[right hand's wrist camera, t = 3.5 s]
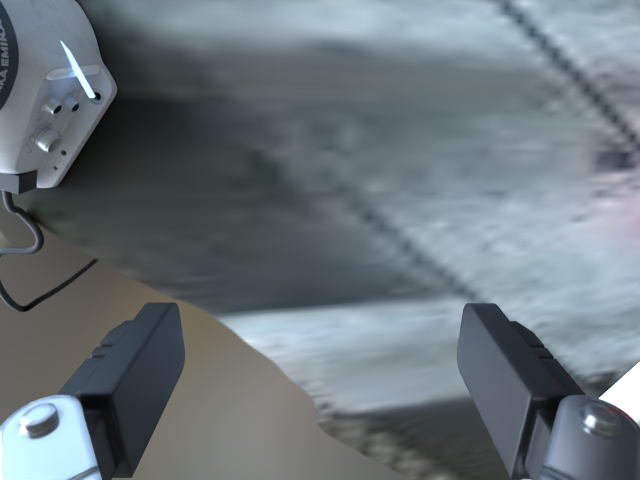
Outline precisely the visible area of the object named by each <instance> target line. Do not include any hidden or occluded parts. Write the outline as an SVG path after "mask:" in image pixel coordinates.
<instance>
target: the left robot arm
mask: <svg viewBox="0 0 640 480" xmlns="http://www.w3.org/2000/svg"><path fill="white" fill-rule="evenodd" d="M97 93H99V94H100V95H101V99H100V100H99V99H98V98H97V97H96V94H97ZM116 94H117V86H116V83H115V81H114V79H113V77H112V75H111V74H110V72H109V71H108V69H107V68H106V66H105V65H104V63H103V61H102V59H101V55H100V52H99V48H98V44H97V40H96V36H95V33H94V31H93V28H92V26H91V24H90V22H89V20H88V18H87V16H86V15H85V13H84V11H83V10H82V8H81V7H80V6H79V4H78V3H77V2H76V1H75V0H0V189H1V190H2V193H3V200H4V203H5V206H6V208H7V209H8V211H10V212H12V213H17V214H18V215H19V216H20V217H21V218H22V219H23V220H24V221H25V222H26V224H27V225H28V226H29V227H30V228H31V229H32V231H33V232H34V234H35V237H36V243H35V245H34V246H33V247H29V248H15V247H7V248H1V249H0V257H1V256H2V255H4V254H33V253H36V252H38V251H39V250H40V249H41V248H42V246H43V244H44V237H43V233H42V231H41V229H40V228H39V226H38V225H37V224H36V222H35V221H34V220H33V219H32V218H31V217H30V216H29V215H28V214H27V213H26V212H25V211H24V210H23V209H22V208H20V207H17V206H15V205H14V204H13V200H12V194H11V192H12V193H15V194H21V193H24V192H26V191H29V190H32V189H34V188H49V187H54V186H57V185H58V184H59V183H60V182H61V181H62V179H63V177H64V176H65V174H66V173H67V171H68V170H69V168H70V167H71V165H72V163H73V162H74V160H75V159H76V157H77V156H78V154H79V152H80V151H81V149H82V148H83V146H84V145H85V143H86V141H87V140H88V138H89V137H90V135H91V134H92V132H93V130H94V129H95V127H96V126H97V124H98V123H99V121H100V120H101V118H102V116H103V115H104V113H105V112H106V110H107V109H108V107H109V105H110V104H111V102H112V101H113V99H114V98H115V96H116ZM98 261H99V260H98V259H96V258H94V259H93V260H92V261H91V262H89V263H88V264H87V265H85V266H84V267H83V268H82V269H81V270H79V271H78V272H77V273H75V274H74V275H73V276H72V277H70V278H69V279H68V280H66V281H65V282H63V283H62V284H60V285H59V286H57V287H56V288H54V289H52V290H51V291H49V292H47V293H45V294H43V295H42V296H40V297H38V298H36V299H35V300H34V301H32V302H31V303H29V304H28V305H26V306H20V305H18V304H17V303H16V302H15V301H14V300H12V298H11V297H10V296H9V295H8V293H7V292H6V291H5V289H4V287H3V285H2V283H1V281H0V297H1V298H2V299H3V300H4V302H5V303H6V304H7V305H9V306H10V307H11V308H12V309H14V310H15V311H18V312H26V311H29V310H31V309H32V308H34V307H35V306H36V305H38V304H39V303H41V302H42V301H44V300H46V299H47V298H49V297H51V296H53V295H54V294H56V293H57V292H59V291H60V290H62V289H63V288H65V287H66V286H68V285H69V284H70V283H72V282H73V281H74V280H76V279H77V278H78V277H79V276H81V275H82V274H83V273H84V272H86V271H87V270H88V269H89V268H90V267H92V266H93V265H94V264H95V263H96V262H98Z"/></svg>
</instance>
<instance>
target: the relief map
mask: <svg viewBox="0 0 640 480" xmlns="http://www.w3.org/2000/svg"><path fill="white" fill-rule="evenodd" d="M599 399H602V400H604V401H606V402H609V403H611V404H613V405H615V406H617V407H618V408H620V409H621V410H623V411H624V412H626V413H627V414H628V415H629V416H630V417H632V418H633V419H634V420H635V422H636V423H637V424H638V425H639V427H640V362H639V363H638V364H637V365H636V366H634V367H633V368H632V369H631V370H630V371H629V372H628V373H627V374H625V375H624V376H623V377H622V378H621V379H620V380H619V381H618V382H617V383H615V384H614V385H613V386H612V387H611V388H610V389H609V390H608V391H607V392H605V393H604V394H603V395H602V396H601V397H600V398H599ZM521 480H531V479H521Z"/></svg>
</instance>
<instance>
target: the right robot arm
mask: <svg viewBox="0 0 640 480" xmlns="http://www.w3.org/2000/svg"><path fill="white" fill-rule="evenodd" d="M184 361H185V347H184V340H183V334H182V327H181V320H180V313H179V308H178V306H177V304H176V303H147V304H145V305H144V307H143V308H142V309H141V311H140V312H139V313H138V314H137V316H136V317H135V318H134V320H133V321H125V322H124V323H122V324H120V325H119V326H117V327H116V328H114V329H113V330H111V331H110V332H109V333H108V334H107V335H106V336H105V338H104V339H103V340H102V341H101V342H100V344H99V347H96V348H95V349H94V351H93V352H92V353H91V354H90V357H89V358H87V359H86V360H85V361H84V363H83V364H82V365H81V366H80V367H79V369H78V370H77V371H76V372H75V373H74V375H73V376H72V377H71V378H70V379H69V380H68V382H67V383H66V384H65V385H64V386H63V388H62V389H61V390H60V391H59V392H58V394H57V395H54V396H49V397H45V398H42V399H38V400H36V401H34V402H31V403H29V404H27V405H25V406H23V407H22V408H20V409H19V410H17V411H16V412H14V413H13V414H12V415H11V416H10V417H8V418H7V419H6V421H5V422H4V423H3V424H2V425H1V427H0V480H111V479H112V478H132V476H133V474H134V472H135V470H136V468H137V466H138V464H139V461H140V459H141V457H142V455H143V453H144V451H145V449H146V447H147V445H148V442H149V440H150V438H151V436H152V434H153V432H154V430H155V428H156V426H157V424H158V421H159V419H160V417H161V415H162V413H163V411H164V409H165V407H166V405H167V402H168V400H169V398H170V396H171V394H172V392H173V390H174V388H175V386H176V383H177V381H178V379H179V377H180V375H181V373H182V370H183V367H184ZM457 361H458V367H459V371H460V373H461V376H462V378H463V380H464V382H465V384H466V386H467V388H468V390H469V392H470V394H471V396H472V399H473V401H474V403H475V405H476V407H477V409H478V411H479V413H480V415H481V417H482V419H483V421H484V424H485V426H486V428H487V430H488V432H489V434H490V436H491V438H492V440H493V442H494V444H495V446H496V449H497V451H498V453H499V455H500V457H501V459H502V461H503V463H504V465H505V467H506V469H507V471H508V474H509V476H510V478H511V479H531V480H640V427H639V425H638V424H637V423H636V422H635V420H634V419H633V418H632V417H630V416H629V415H628V414H627V413H626V412H624V411H623V410H621V409H620V408H618V407H617V406H615V405H613V404H611V403H609V402H606V401H604V400H602V399H598V398H595V397H591V396H587V395H586V394H585V393H584V392H583V391H582V390H581V388H580V387H579V386H578V385H577V384H576V382H575V381H574V380H573V379H572V378H571V377H570V375H569V374H568V373H567V372H566V371H565V369H564V368H563V367H562V366H561V365H560V364H559V362H558V361H557V360H556V359H553V355H552V354H551V353H550V352H549V351H548V349H547V348H544V345H543V344H542V342H541V341H540V340H539V339H538V338H537V336H536V335H535V334H534V333H533V332H532V331H530V330H529V329H527V328H526V327H524V326H522V325H521V324H519V323H518V322H516V321H509V320H508V318H507V317H506V316H505V314H504V313H503V312H502V311H501V309H500V308H499V307H498V306H497V305H496V304H494V303H467V304H466V305H465V307H464V309H463V315H462V322H461V328H460V335H459V342H458V348H457Z"/></svg>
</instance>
